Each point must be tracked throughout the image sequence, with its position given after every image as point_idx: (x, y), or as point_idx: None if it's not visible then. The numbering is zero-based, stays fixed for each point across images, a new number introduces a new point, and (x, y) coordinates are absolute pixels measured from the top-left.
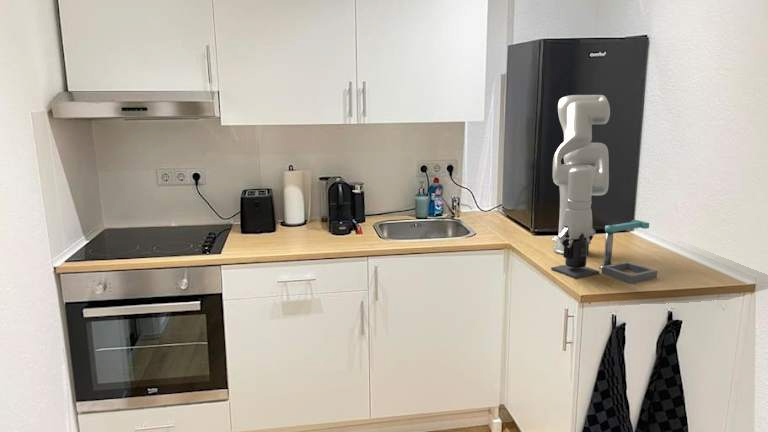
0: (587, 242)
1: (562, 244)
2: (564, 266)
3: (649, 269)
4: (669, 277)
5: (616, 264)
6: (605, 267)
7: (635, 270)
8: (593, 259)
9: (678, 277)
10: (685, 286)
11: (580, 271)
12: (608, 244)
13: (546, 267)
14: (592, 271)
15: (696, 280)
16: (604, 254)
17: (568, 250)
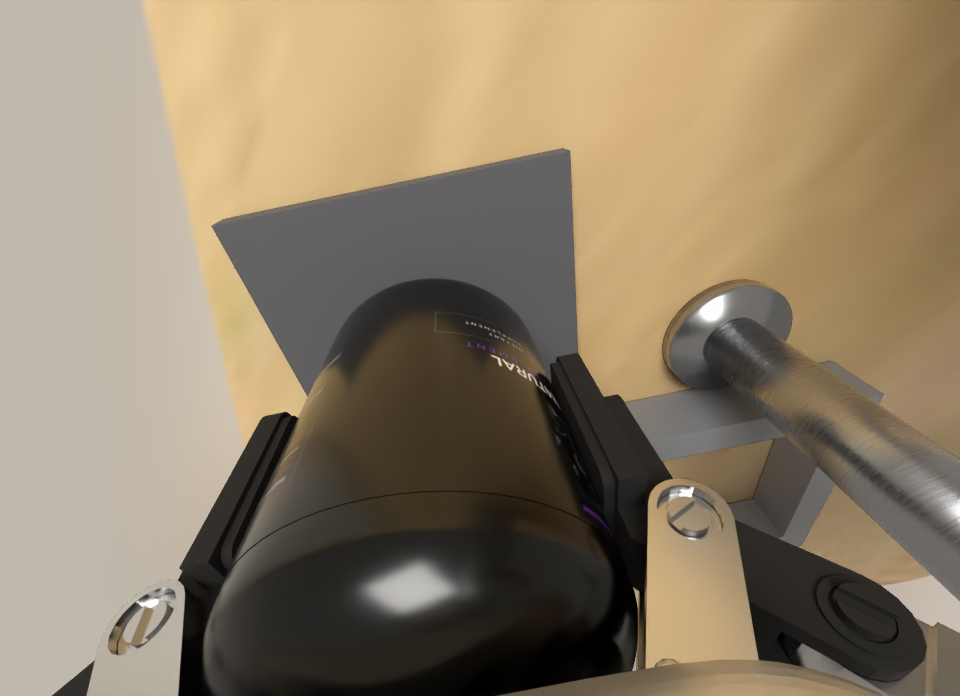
0: (639, 604)
1: (106, 628)
2: (380, 238)
3: (791, 529)
4: (823, 509)
5: (739, 434)
6: None
7: (786, 448)
8: (933, 3)
9: (852, 514)
10: None
11: None
12: (900, 544)
13: (187, 113)
14: None
15: (859, 544)
16: (792, 402)
17: None
